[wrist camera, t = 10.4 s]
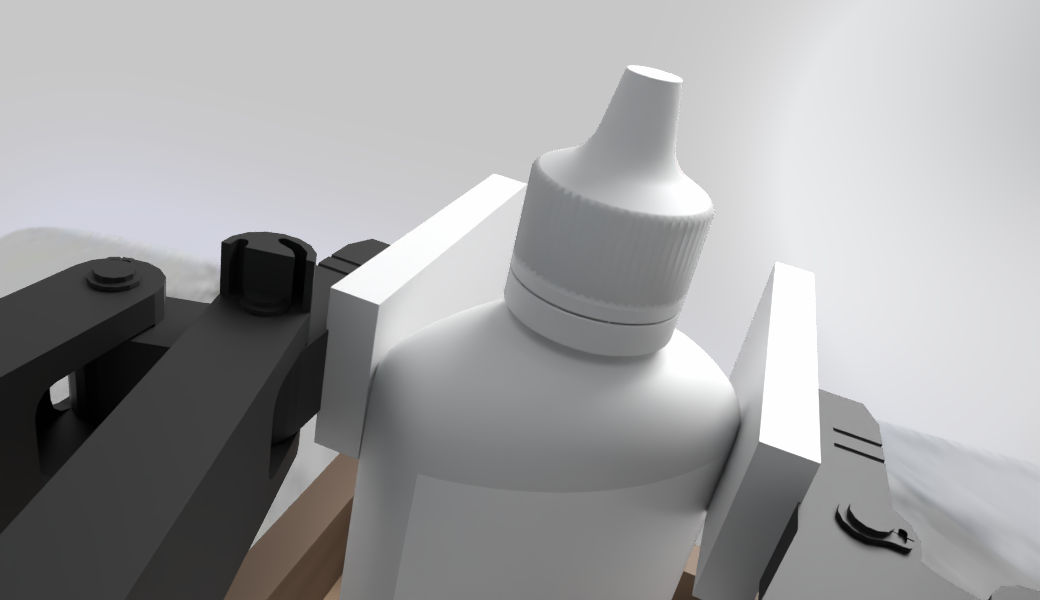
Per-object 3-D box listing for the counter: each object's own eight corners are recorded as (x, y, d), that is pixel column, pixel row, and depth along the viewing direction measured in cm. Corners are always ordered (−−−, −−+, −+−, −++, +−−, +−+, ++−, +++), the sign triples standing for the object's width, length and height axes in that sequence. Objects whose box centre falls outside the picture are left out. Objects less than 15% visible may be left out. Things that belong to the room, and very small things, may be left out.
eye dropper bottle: (617, 865, 13) (946, 182, 7) (291, 772, 13) (375, 44, 8) (624, 645, 17) (843, 93, 11) (373, 577, 17) (467, 3, 11)
